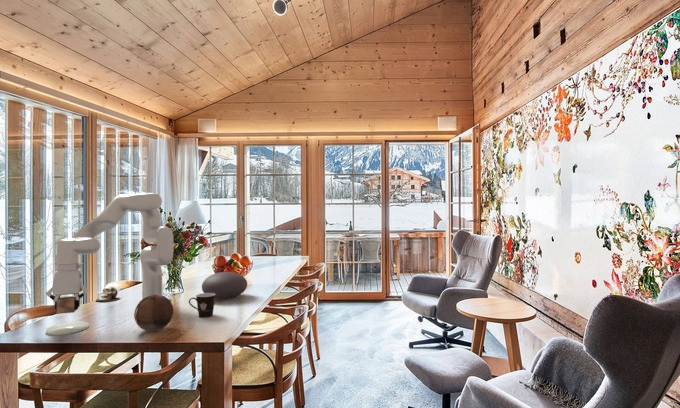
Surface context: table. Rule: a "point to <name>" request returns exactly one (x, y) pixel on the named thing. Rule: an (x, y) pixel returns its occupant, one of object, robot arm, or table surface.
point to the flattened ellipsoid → (225, 285)
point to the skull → (108, 294)
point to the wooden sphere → (153, 312)
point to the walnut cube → (66, 304)
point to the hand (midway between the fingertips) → (67, 309)
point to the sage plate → (67, 328)
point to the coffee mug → (204, 304)
